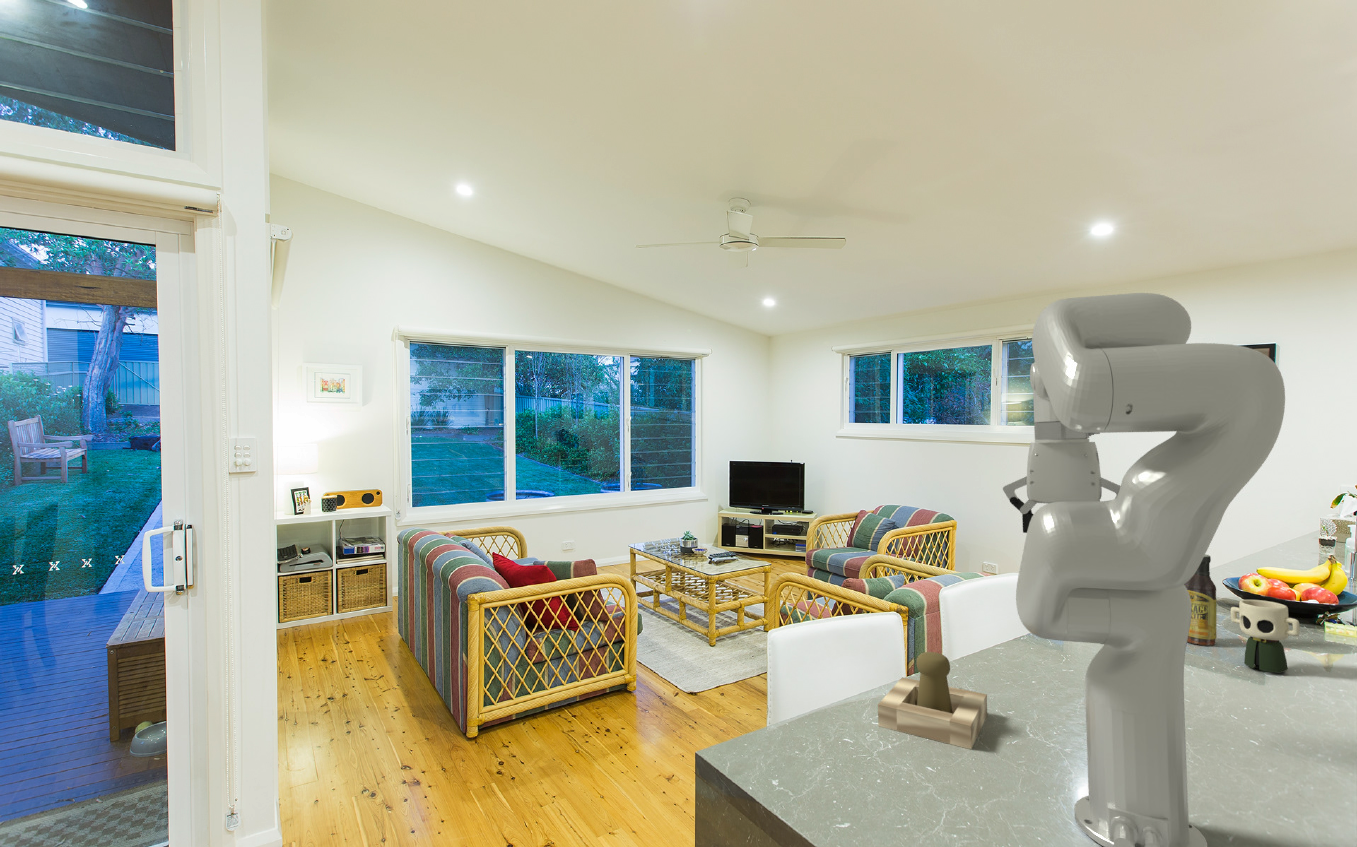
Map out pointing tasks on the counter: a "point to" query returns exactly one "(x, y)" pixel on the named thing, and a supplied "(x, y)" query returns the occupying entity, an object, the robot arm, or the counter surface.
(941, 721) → the socket block
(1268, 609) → the character mug
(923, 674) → the cork
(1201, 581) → the sauce bottle
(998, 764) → the counter surface
